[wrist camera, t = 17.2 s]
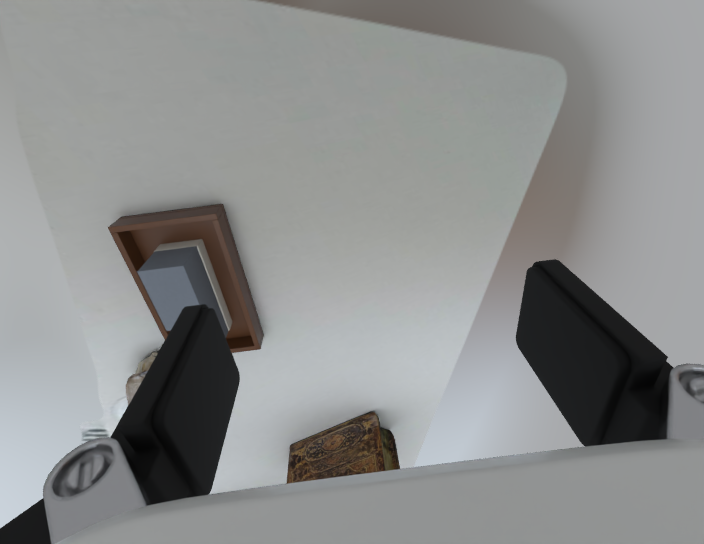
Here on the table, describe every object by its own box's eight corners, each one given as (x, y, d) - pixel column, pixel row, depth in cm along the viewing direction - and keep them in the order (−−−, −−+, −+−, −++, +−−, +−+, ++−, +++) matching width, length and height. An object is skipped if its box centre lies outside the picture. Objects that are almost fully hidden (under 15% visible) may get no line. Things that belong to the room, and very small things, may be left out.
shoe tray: (121, 216, 36) (107, 227, 33) (222, 203, 36) (215, 213, 33) (182, 345, 45) (175, 360, 42) (263, 334, 45) (260, 349, 42)
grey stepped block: (159, 244, 37) (135, 271, 32) (202, 238, 37) (184, 265, 32) (195, 326, 43) (179, 360, 38) (232, 321, 43) (221, 354, 38)
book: (303, 463, 59) (291, 694, 38) (284, 447, 57) (259, 684, 35) (392, 428, 56) (434, 659, 35) (376, 408, 53) (410, 646, 32)
